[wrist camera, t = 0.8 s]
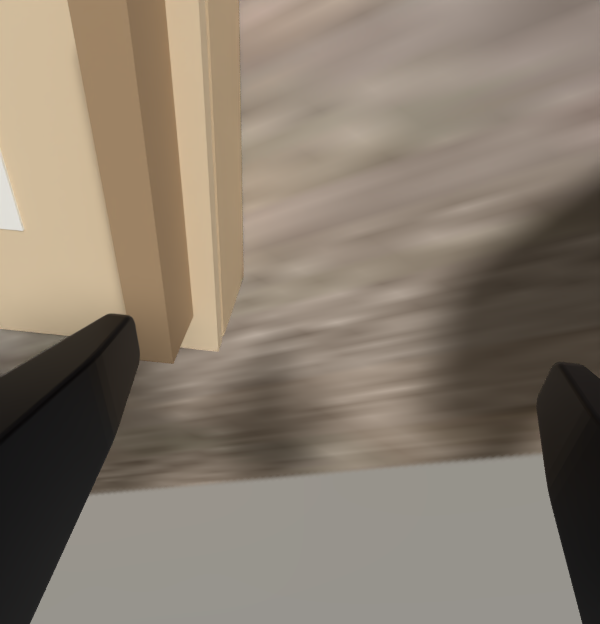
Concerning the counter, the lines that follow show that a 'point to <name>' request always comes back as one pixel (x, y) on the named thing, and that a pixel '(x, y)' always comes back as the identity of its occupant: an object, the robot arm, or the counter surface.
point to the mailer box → (226, 145)
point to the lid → (108, 171)
